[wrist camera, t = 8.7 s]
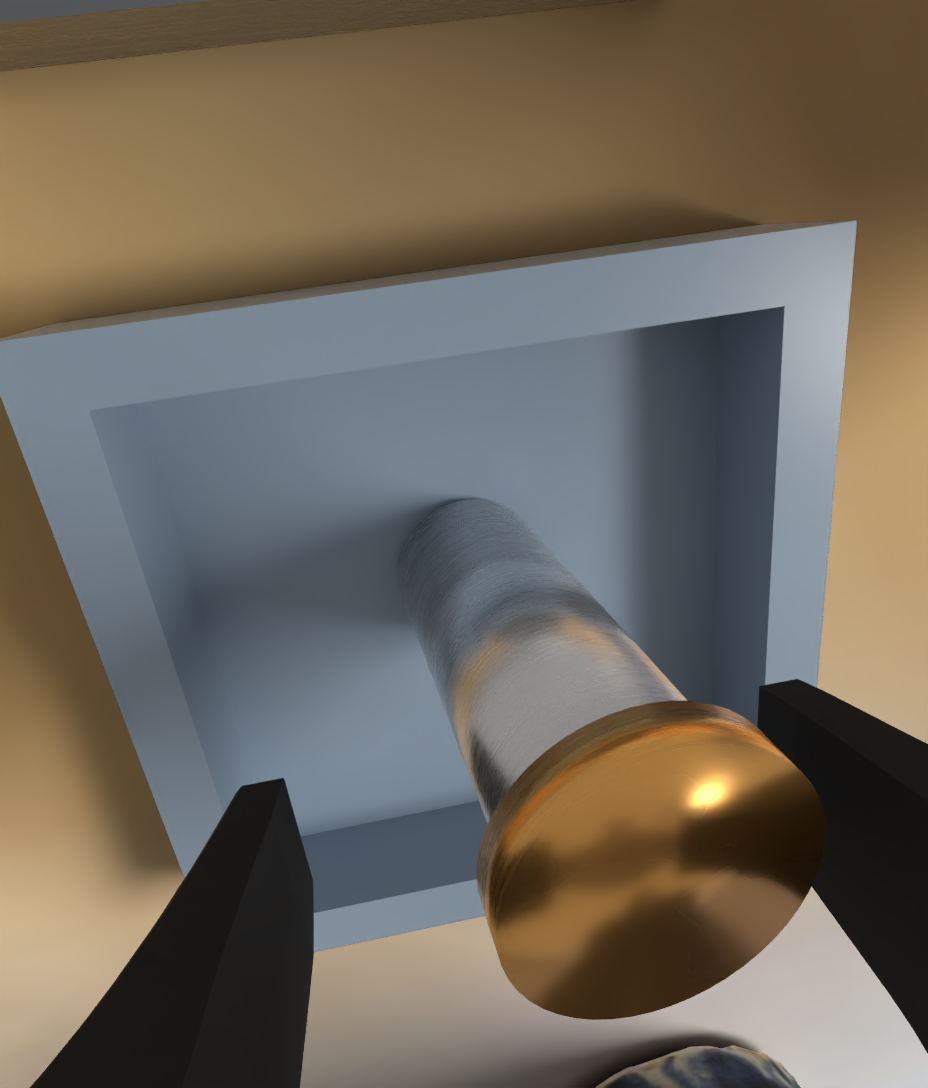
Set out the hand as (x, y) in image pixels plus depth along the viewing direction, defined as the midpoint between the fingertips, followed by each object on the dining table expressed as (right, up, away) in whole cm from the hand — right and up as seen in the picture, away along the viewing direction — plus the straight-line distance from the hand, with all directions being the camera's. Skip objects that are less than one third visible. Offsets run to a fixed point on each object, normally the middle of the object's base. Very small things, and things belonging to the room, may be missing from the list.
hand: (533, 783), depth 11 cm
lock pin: (-1, +3, +5) cm, 6 cm away
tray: (-1, +3, +6) cm, 7 cm away
